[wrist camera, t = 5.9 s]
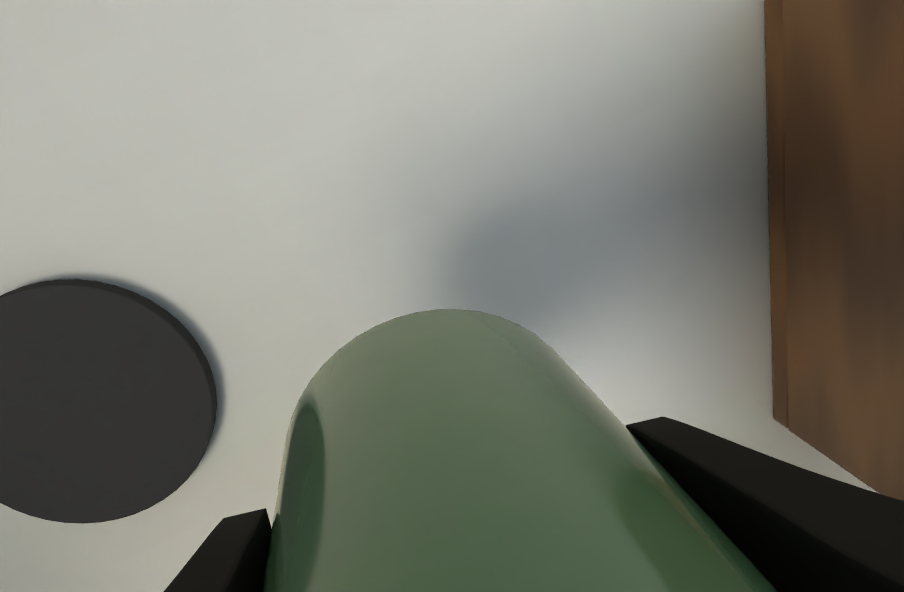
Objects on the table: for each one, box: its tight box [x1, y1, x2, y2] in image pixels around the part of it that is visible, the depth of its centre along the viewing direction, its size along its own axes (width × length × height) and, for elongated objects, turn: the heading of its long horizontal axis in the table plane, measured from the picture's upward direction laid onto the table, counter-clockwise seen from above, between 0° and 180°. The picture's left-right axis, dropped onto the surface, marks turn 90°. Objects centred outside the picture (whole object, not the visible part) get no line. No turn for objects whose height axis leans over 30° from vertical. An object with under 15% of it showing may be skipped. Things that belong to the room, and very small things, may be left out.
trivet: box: [0, 279, 217, 523], centre depth 18 cm, size 7×7×1 cm
